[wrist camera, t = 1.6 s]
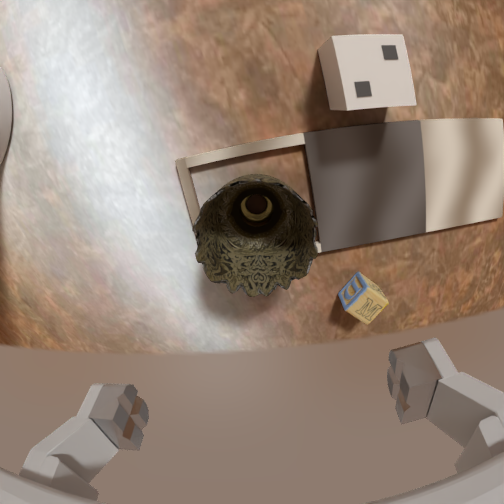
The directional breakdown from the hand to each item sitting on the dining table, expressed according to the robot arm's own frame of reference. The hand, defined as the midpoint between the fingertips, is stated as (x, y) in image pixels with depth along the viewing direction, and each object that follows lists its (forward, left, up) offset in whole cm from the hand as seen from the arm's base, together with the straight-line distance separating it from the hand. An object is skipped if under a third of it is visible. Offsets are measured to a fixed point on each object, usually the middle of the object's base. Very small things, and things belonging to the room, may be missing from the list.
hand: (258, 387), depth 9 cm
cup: (0, 0, -19) cm, 19 cm away
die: (+9, +9, -19) cm, 23 cm away
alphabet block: (+8, -10, -19) cm, 23 cm away
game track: (+9, 0, -19) cm, 21 cm away
